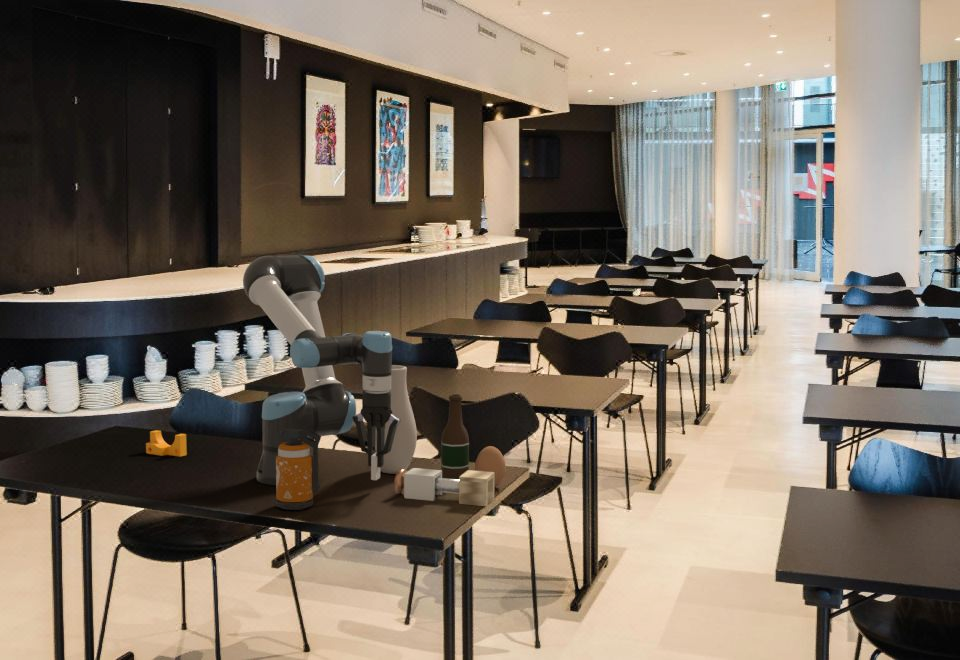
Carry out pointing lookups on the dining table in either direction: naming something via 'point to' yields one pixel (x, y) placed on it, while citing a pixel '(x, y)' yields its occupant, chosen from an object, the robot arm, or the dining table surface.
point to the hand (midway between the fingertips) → (375, 478)
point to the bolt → (440, 483)
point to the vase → (400, 425)
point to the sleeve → (421, 484)
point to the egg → (491, 463)
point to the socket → (476, 488)
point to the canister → (297, 469)
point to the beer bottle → (454, 442)
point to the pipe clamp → (166, 445)
